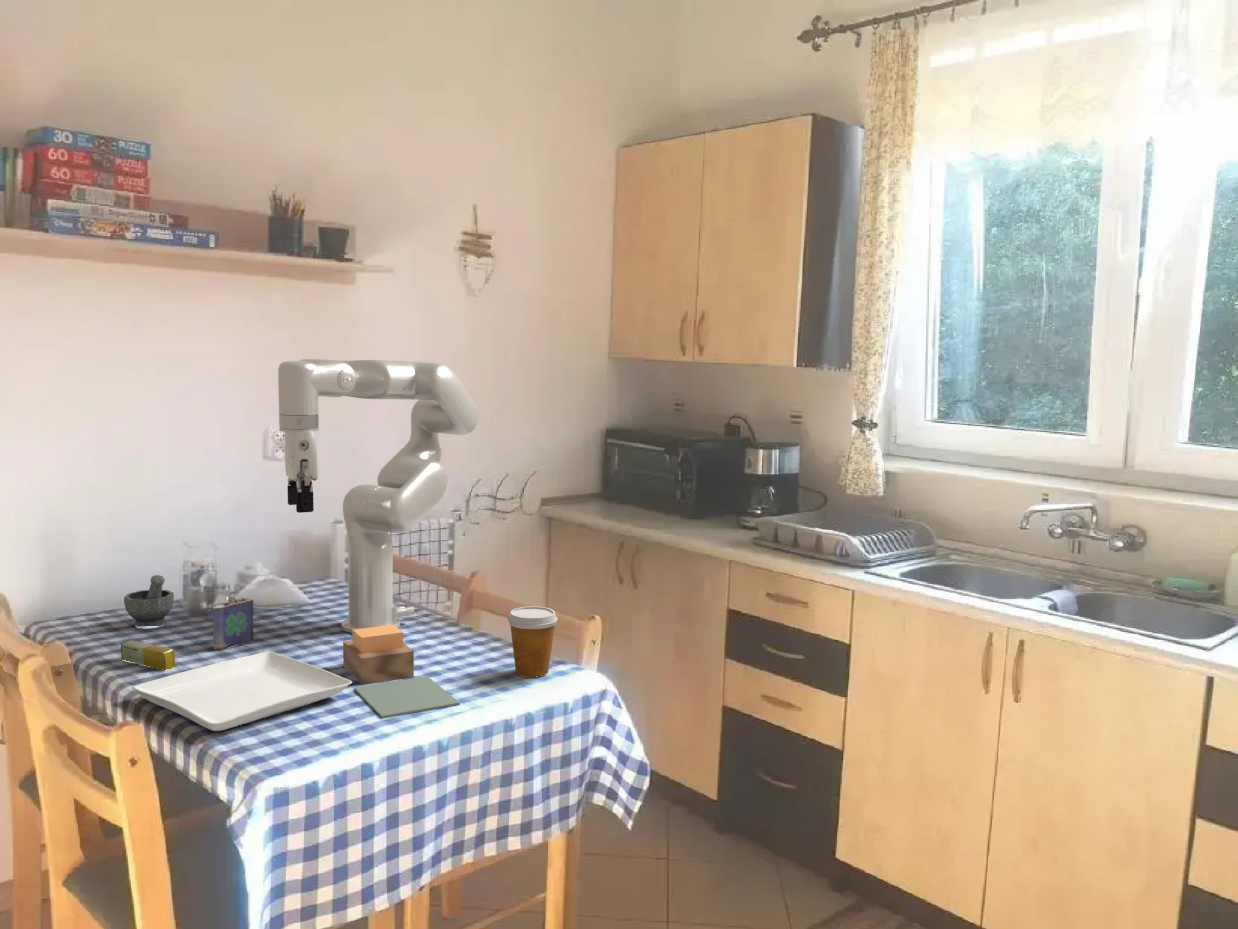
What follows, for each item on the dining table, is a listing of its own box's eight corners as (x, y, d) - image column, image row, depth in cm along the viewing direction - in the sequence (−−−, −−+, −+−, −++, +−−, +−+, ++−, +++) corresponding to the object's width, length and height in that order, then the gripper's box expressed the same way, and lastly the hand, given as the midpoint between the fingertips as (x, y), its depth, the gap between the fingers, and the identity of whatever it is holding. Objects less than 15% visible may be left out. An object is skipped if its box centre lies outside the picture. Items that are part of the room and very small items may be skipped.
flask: (217, 651, 209) (216, 599, 208) (209, 649, 211) (207, 597, 209) (256, 641, 217) (255, 591, 215) (247, 638, 218) (246, 589, 217)
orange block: (393, 639, 203) (393, 624, 202) (403, 647, 198) (403, 632, 197) (352, 644, 199) (352, 629, 198) (362, 653, 194) (361, 637, 193)
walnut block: (393, 659, 206) (393, 634, 206) (413, 676, 196) (413, 651, 196) (343, 666, 201) (343, 641, 201) (361, 684, 191) (361, 658, 190)
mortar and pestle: (119, 624, 226) (117, 571, 225) (162, 617, 233) (161, 565, 231) (139, 635, 218) (137, 580, 217) (183, 627, 225) (181, 573, 224)
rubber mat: (427, 678, 195) (427, 676, 195) (459, 704, 182) (459, 702, 182) (354, 689, 188) (354, 687, 188) (382, 718, 175) (382, 716, 175)
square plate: (269, 667, 201) (268, 648, 200) (355, 700, 184) (355, 679, 183) (130, 704, 180) (129, 682, 180) (212, 745, 163) (212, 721, 162)
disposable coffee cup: (563, 667, 203) (564, 608, 202) (546, 683, 194) (547, 620, 193) (517, 662, 206) (518, 604, 204) (499, 677, 197) (500, 616, 195)
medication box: (120, 662, 201) (119, 643, 201) (132, 658, 204) (131, 639, 203) (165, 672, 196) (164, 652, 196) (176, 668, 199) (175, 648, 198)
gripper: (327, 426, 200) (328, 514, 202) (309, 419, 215) (311, 500, 217) (286, 427, 197) (288, 516, 199) (272, 420, 212) (274, 502, 214)
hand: (300, 508), depth 208 cm, fingers open, 9 cm apart
